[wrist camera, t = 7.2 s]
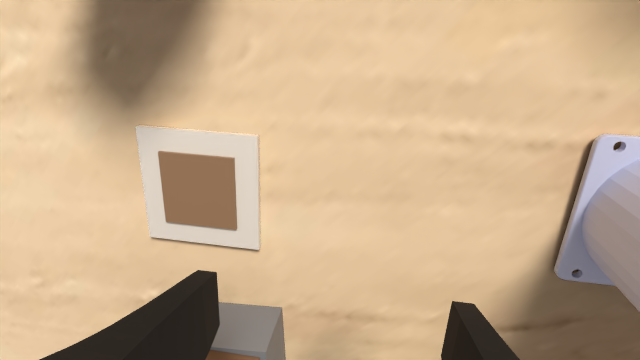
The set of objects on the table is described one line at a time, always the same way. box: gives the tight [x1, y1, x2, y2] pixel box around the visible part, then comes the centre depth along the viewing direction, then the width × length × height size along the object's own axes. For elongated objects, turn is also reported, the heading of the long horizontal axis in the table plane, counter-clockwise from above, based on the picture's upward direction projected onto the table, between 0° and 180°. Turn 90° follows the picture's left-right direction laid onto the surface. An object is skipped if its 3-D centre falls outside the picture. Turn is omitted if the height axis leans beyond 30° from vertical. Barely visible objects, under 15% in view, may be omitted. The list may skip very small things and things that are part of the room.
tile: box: [135, 125, 261, 250], centre depth 23 cm, size 7×7×1 cm
